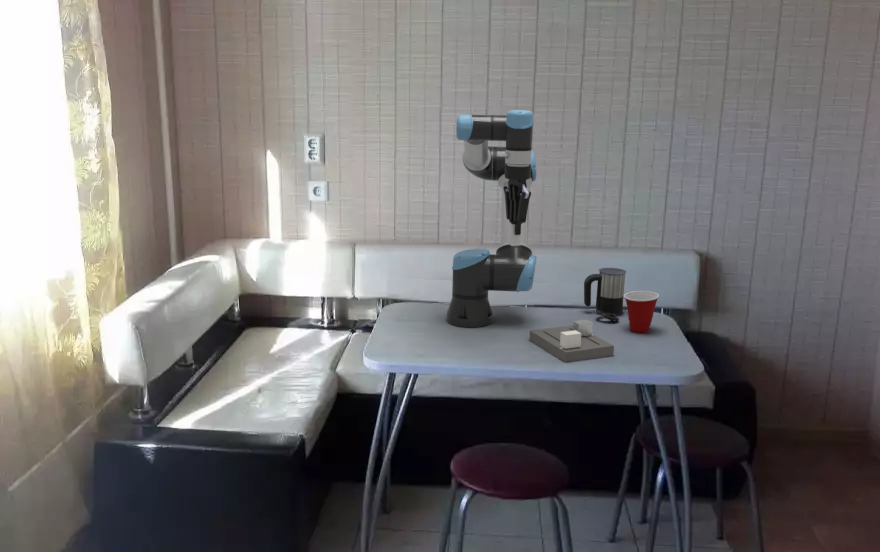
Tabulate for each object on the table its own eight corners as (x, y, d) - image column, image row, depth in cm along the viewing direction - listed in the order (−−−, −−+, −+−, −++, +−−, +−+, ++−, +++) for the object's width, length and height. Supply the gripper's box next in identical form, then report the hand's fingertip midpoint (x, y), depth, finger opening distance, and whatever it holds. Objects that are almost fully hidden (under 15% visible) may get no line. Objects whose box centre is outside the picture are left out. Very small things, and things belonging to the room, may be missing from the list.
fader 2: (572, 333, 245) (573, 321, 244) (586, 332, 247) (587, 319, 246) (577, 336, 242) (578, 323, 241) (592, 335, 244) (593, 322, 243)
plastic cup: (618, 324, 265) (621, 289, 262) (652, 325, 265) (655, 289, 262) (623, 335, 255) (626, 298, 252) (659, 336, 254) (662, 299, 251)
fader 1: (559, 345, 234) (560, 332, 234) (575, 343, 236) (575, 330, 235) (565, 348, 232) (566, 335, 231) (580, 346, 234) (581, 333, 233)
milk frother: (613, 307, 284) (616, 266, 281) (640, 320, 270) (644, 277, 266) (578, 312, 279) (580, 269, 275) (604, 325, 265) (606, 280, 261)
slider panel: (529, 339, 249) (529, 330, 249) (574, 334, 255) (575, 324, 255) (565, 362, 231) (565, 352, 230) (613, 355, 237) (614, 345, 236)
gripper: (496, 162, 241) (493, 241, 246) (516, 168, 229) (514, 250, 235) (518, 162, 243) (516, 240, 249) (540, 167, 232) (537, 248, 238)
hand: (515, 245), depth 242 cm, fingers closed
